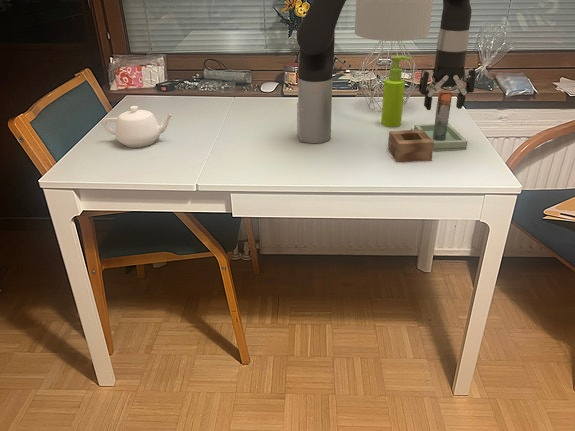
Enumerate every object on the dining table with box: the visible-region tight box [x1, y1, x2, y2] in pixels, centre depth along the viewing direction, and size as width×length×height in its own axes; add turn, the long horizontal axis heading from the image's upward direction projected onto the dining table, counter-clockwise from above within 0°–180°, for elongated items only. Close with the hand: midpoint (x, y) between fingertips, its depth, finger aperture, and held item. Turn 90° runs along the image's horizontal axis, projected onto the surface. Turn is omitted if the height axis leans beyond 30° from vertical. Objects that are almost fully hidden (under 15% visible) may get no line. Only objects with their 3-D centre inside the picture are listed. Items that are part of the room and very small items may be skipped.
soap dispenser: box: [380, 55, 412, 128], centre depth 156 cm, size 6×7×20 cm
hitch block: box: [387, 129, 434, 163], centre depth 139 cm, size 9×9×5 cm
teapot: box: [101, 105, 174, 148], centre depth 149 cm, size 20×12×10 cm, turn 90°
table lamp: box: [354, 0, 434, 112], centre depth 165 cm, size 22×22×40 cm
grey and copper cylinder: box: [433, 90, 453, 141], centre depth 145 cm, size 4×4×13 cm
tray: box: [413, 122, 468, 153], centre depth 148 cm, size 10×14×2 cm
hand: (443, 108), depth 144 cm, fingers open, 8 cm apart
